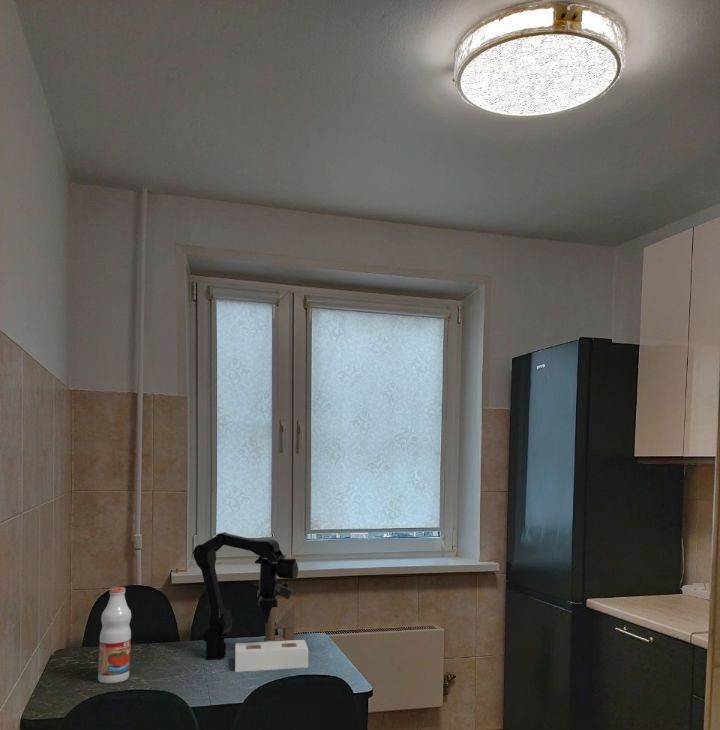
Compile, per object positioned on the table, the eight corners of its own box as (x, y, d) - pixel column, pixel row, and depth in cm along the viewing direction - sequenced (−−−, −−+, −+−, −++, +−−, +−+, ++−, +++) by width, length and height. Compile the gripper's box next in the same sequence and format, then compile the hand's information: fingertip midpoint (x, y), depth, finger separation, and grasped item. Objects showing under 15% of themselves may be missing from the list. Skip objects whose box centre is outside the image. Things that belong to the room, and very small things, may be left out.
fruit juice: (114, 673, 221) (118, 584, 225) (135, 677, 216) (139, 586, 220) (91, 681, 213) (95, 589, 217) (112, 685, 208) (116, 591, 212)
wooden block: (294, 648, 250) (294, 597, 252) (265, 651, 246) (266, 599, 249) (291, 645, 253) (292, 595, 256) (263, 648, 249) (264, 597, 252)
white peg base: (235, 671, 221) (235, 652, 222) (235, 661, 233) (235, 643, 234) (308, 667, 226) (308, 648, 227) (304, 657, 237) (304, 639, 238)
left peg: (246, 666, 226) (247, 649, 227) (246, 662, 230) (246, 645, 231) (260, 665, 227) (260, 648, 227) (259, 661, 231) (259, 645, 232)
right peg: (282, 664, 228) (282, 647, 229) (281, 660, 232) (282, 643, 233) (295, 663, 229) (295, 646, 230) (294, 659, 233) (294, 643, 234)
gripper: (293, 581, 230) (291, 629, 228) (288, 572, 248) (287, 616, 246) (260, 581, 228) (257, 630, 226) (258, 572, 246) (256, 617, 244)
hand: (266, 623), depth 236 cm, fingers closed
